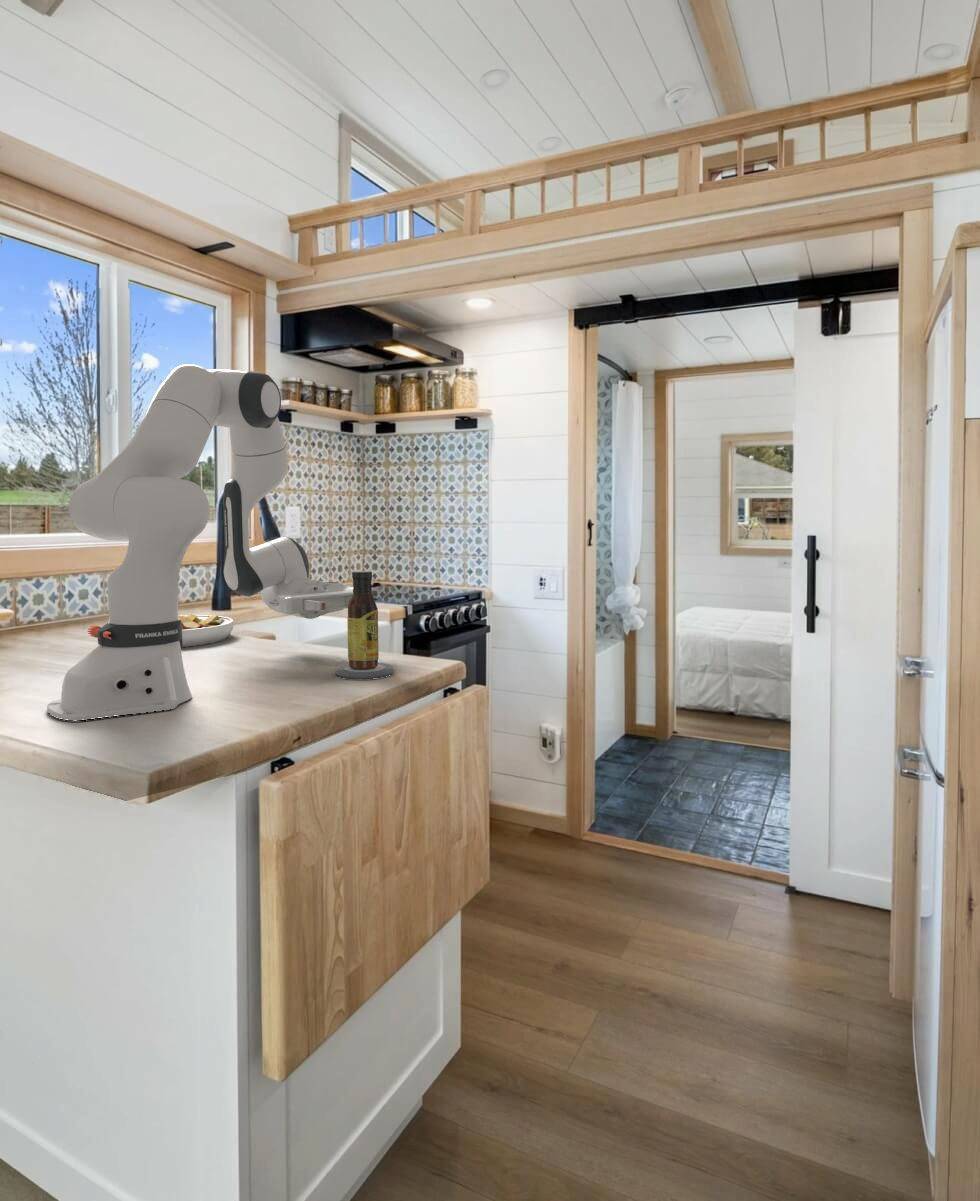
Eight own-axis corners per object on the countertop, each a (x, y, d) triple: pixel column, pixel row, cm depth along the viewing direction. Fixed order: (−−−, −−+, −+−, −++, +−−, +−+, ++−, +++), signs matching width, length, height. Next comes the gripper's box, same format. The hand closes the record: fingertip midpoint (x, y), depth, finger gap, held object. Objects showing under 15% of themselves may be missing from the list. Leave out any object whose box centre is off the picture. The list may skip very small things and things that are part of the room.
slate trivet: (357, 682, 149) (357, 676, 149) (323, 673, 158) (323, 667, 158) (405, 673, 158) (405, 667, 158) (371, 665, 166) (371, 659, 166)
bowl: (111, 636, 207) (110, 607, 206) (228, 630, 219) (227, 602, 218) (106, 655, 180) (104, 622, 179) (239, 646, 192) (238, 615, 191)
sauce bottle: (372, 671, 154) (370, 572, 152) (343, 670, 155) (340, 572, 153) (383, 664, 160) (381, 570, 158) (355, 663, 161) (352, 570, 159)
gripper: (265, 588, 165) (297, 593, 155) (345, 581, 179) (380, 586, 169) (266, 617, 165) (298, 624, 156) (346, 608, 179) (381, 614, 170)
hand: (342, 604), depth 162 cm, fingers open, 8 cm apart
